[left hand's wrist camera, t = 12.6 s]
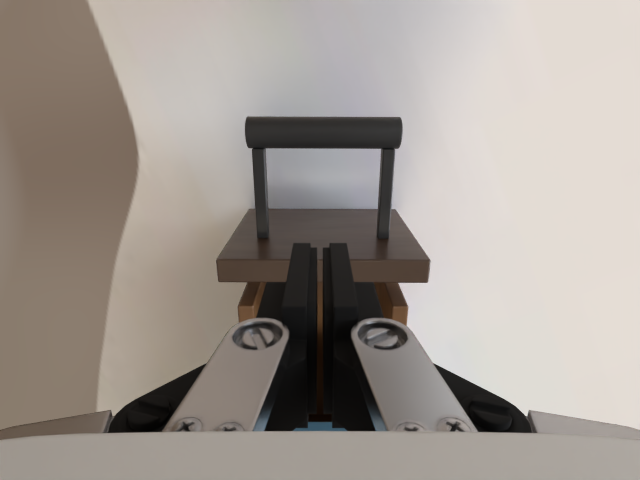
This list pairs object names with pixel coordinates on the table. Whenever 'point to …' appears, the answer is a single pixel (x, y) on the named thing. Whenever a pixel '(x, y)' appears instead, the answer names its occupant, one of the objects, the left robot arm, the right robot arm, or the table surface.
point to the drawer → (324, 223)
